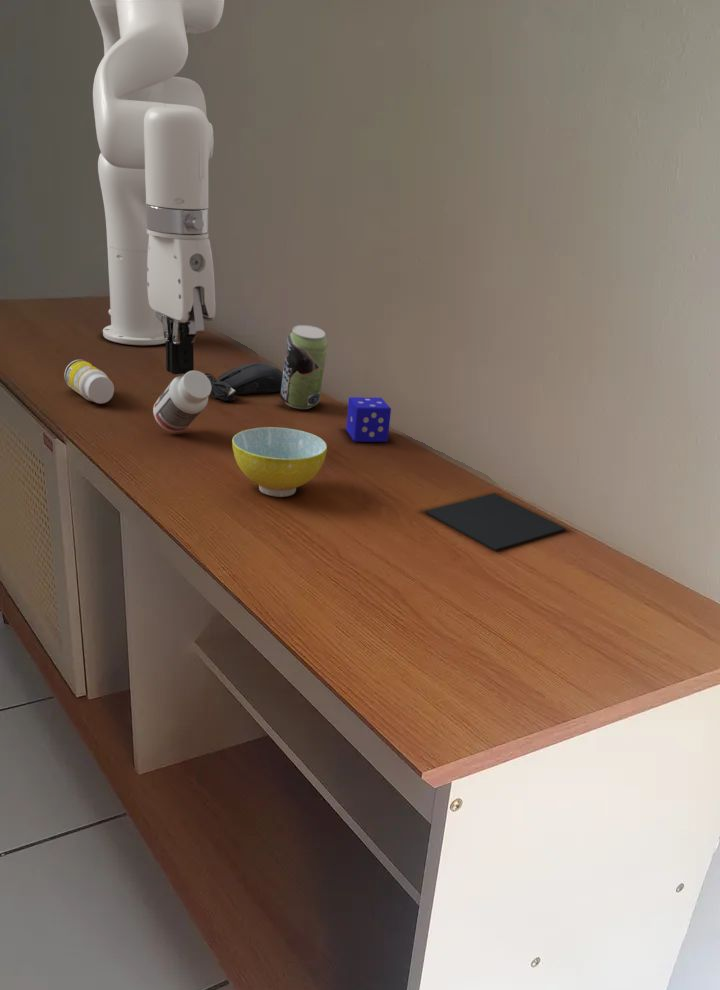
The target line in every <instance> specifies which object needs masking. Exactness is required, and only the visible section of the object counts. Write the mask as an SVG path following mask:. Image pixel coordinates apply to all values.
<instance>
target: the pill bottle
mask: <svg viewBox="0 0 720 990" xmlns="http://www.w3.org/2000/svg"><path fill="white" fill-rule="evenodd" d="M207 376H208V375H205V373H203V372H202V371H200V370H193V371H189V372H187V373H185V374H179V375H177V376H176V377H174V378H173V379H172V380H171V381H170V383H169V384H168V386H167V387H166V388H165V389H164V390H163V392H162V393H161V394H160V396H159V397H158V398H157V399H156V401H155V402H154V404H153V407H152V412H153V417H154V419H155V421H156V423H157V424H158V425H159V426H160V427H161V428H162V429H164V430H165V431H167V432H170V433H181V432H183V431H185V430H186V429H187V428H188V427H189V426H190V425H191V423H192V422H194V420H195V419H196V418H198V416H199V415H200V414H201V413H202V412H203V411H204V410H205V408H206V406H207V405H208V402H209V396H210V395H211V394H212V391H211V388H212V387H211V382H210V380H209V379H208V377H207Z"/></svg>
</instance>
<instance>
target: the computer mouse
mask: <svg viewBox="0 0 720 990" xmlns="http://www.w3.org/2000/svg"><path fill="white" fill-rule="evenodd" d="M204 374H205V375H206V376H207V377H208V379H209V380H210V382H211V387H212V388H211V397H212V398H213V399H215V400H220V401H223V402H234V401H235V399H236V395H247V394H263V393H278V392H281V385H282V378H283V371H281V369H279V368H278V367H277V366H275V365H272V364H270V363H266V362H252V363H247V364H243V365H240V366H237V367H234V368H232V369H230V370H228V371H226V372H224V373H222V374H221V375H219V376H218V379H216V378H215V376H214V374H212V373H210V372H205V373H204Z"/></svg>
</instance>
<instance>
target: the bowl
mask: <svg viewBox="0 0 720 990" xmlns="http://www.w3.org/2000/svg"><path fill="white" fill-rule="evenodd" d="M231 445H232V447H231V448H232V452H233V456H234V459H235V462H236V464H237V466H238V467H239V470H240V471H241V472H242V473H243V474H244V476H245V477H247V478H248V479H249V480H250V481H251V482H253V483H255V484H256V485H258V490H259V491H260V492H261V493H262V494H264V495H266V496H271V497H276V498H283V497H290V496H293V495H294V494H295V493H297V492H296V491H297V488H299V487H302V486H304V485H306V484H307V483H309V482H310V481H311V480H312V479H314V477H316V475H318V474H319V472H320V470H321V469H322V466H323V464H324V463H325V459H326V456H327V452H328V445H327V442H326V441H325V440H324V439H322V438H321V437H320V436H318V435H316V434H313V433H311V432H307V431H305V430H300V429H296V428H295V429H294V428H288V427H276V426H275V427H274V426H271V427H270V426H269V427H268V426H267V427H266V426H265V427H255V428H249V429H244V430H242V431H239V432H237V433H236V434H234V436H233V437H232V439H231Z"/></svg>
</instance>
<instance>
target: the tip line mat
mask: <svg viewBox="0 0 720 990" xmlns="http://www.w3.org/2000/svg"><path fill="white" fill-rule="evenodd" d="M424 513H425V514H426V515H428V516H430V517H432V518H434V519H436V520H437V521H439V522H441V523H443V524H444V525H446V526H449V527H450V528H452V529H454V530H456V531H458V532H459V533H462V534H463V535H465V536H467V537H469V538H470V539H472V540H474V541H475V542H477V543H480V544H481V545H483V546H485V547H487V548H489V549H490V550H492V551H495V552H498V551H502V550H504V549H509V548H511V547H514V546H517V545H518V546H519V545H521V544H525V543H528V542H531V541H535V540H539V539H541V538H545V537H548V536H552V535H555V534H558V533H561V532H564V531H566V527H564V526H562V525H560V524H558V523H555V522H554V521H552V520H549V519H548V518H546V517H544V516H542V515H539V514H537V513H535V512H533V511H531V510H529V509H527V508H525V507H523V506H521V505H519V504H517V503H515V502H513V501H511V500H509V499H507V498H505V497H503V496H501V495H499V494H497V493H492V494H487V495H483V496H480V497H475V498H471V499H466V500H463V501H459V502H456V503H451V504H447V505H443V506H439V507H435V508H432V509H427V510H425V512H424Z"/></svg>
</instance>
